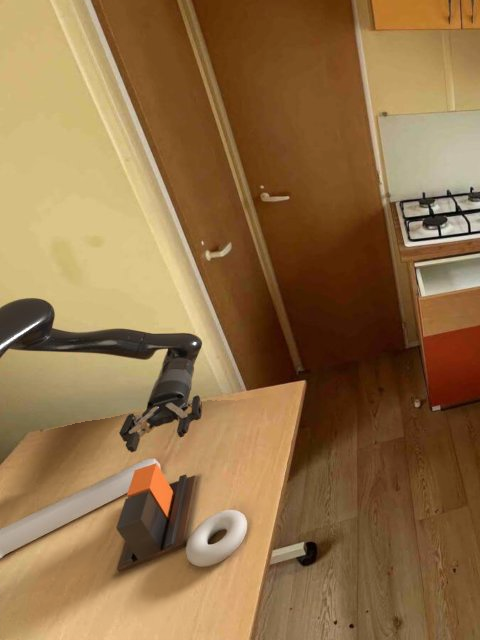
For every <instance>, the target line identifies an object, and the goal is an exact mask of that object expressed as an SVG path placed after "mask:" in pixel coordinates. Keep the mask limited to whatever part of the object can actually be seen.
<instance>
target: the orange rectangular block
mask: <svg viewBox="0 0 480 640" xmlns="http://www.w3.org/2000/svg"><path fill="white" fill-rule="evenodd" d="M160 468H161V467H160ZM160 468H159V466H158V465H157V463H155V464H152V465H149V466H146V467H143V468H140V469H137V470H135V472H134V475H133V478H132V481H131V484H130V487H129V490H128V493H126V497H127V498H129V497H132V496H135V495H138V494H141V493H144V492H147V491H149V492H150V494H151V495H152V497H153V499H154V500H155V502H156V504H157V505H158V507H159V508H160V510H161V512H162V513H163V515H164V517H165V518H166V520H169V517H170V512H171V508H172V503H173V499H174V493H173V491H172V489H171V487H170V486H169V484H170V483H169V482H168V480H167V479H166V476H165V475H164V473H163V471H162V469H161V470H160Z"/></svg>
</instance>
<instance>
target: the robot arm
mask: <svg viewBox="0 0 480 640" xmlns="http://www.w3.org/2000/svg"><path fill="white" fill-rule="evenodd" d="M55 318H56V313H55V309H54V306H53V304H51V303H50V302H49V301H47V300H45V299H42V298H37V297H25V298H20V299H15V300H13V301H10V302H8V303H6V304H4V305H1V306H0V359H1V358H2V357H3V356H4V355H5V353H6V352H7V351H9V350H13V351H25V352H47V353H48V352H50V353H74V354H75V353H79V354H98V355H106V356H107V355H108V356H113V357H121V358H127V359H135V360H140V361H147V360H150V359H151V358H152V357H154V355H155V353H156V352H157V351H160V350H167V351H166V353H165V355H164V358H163V361H162V364H161V369H160V370H159V374H158V376H157V379H156V380H155V382H154V384H153V387H152V389H151V392H150V395H149V398H148V401H147V405H146V409H145V410H144V412H142V413H141V414H138V415H135V414H134V413H130V414H128V415H127V416H126V418H125V420H124V421H123V424H122V426H121V428H120V430H119V432H118V434H119V437H120V438H121V439H122V441H123V442H125V447H126V449H127V451H128V452H130V453H135V452H137V450H138V446H139V444H140V441H141V438H142V437H143V436H144V435H146V434H149V433H150V432H152V431H153V430H154V429H155V428H158V427H161V426H163V425H167V424H171V423H173V422H174V421H176V422H178V423H177V424H178V425H177V429H176V433H177V435H178V437H179V438H183V437H185V435H186V434H187V433H188V432H189V429H190V424H191V423H192V422H194V421H200V419H201V418H202V413H203V411H202V410H203V402H202V399H201V397H200V395H195V396H193V397H192V400H189V398H190V395H191V391H192V385H193V382H192V381H193V378H194V377H193V376H194V372H195V363H196V361H197V358H198V356H199V354H200V350H201V349H202V346H203V341H202V339H201V338H200V337H199V336H198V335H196V334H193V333H188V332H173V333H172V332H171V333H168V332H167V333H153V332H146V331H142V330H141V331H140V330H135V329H130V328H121V327H120V328H119V327H117V328H106V329H99V330H98V329H97V330H89V331H68V330H62V329H58V328H54V327H53V326H54V322H55ZM189 407H190V408H191V409H190V410H191V411H190V412H189V413H187V412H186V411H187V410H188V409H189ZM148 424H149V425H148Z"/></svg>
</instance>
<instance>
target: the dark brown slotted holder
mask: <svg viewBox="0 0 480 640" xmlns="http://www.w3.org/2000/svg"><path fill="white" fill-rule="evenodd" d="M197 480H198V478H197V476H196V475H195V474H194V475H191V476H188V475H187V474H186V473H185V474H182V475H179V478H178V480H177V481H174V482H172V483H168V484H169V486H170V487H171V489H172V491H173V493H174V499H173V503H172V508H171V512H170V517H169V520H166V518H165V517H164V515H163V513H162V512H161V510H160V508H159V507H158V505H157V504H156V502H155V500H154V499H153V497H152V495H151V494H150V492H149V491H147V492H144V493H141V494H138V495H135V496H132V497H129V498H128V497H127V498H125V499H124V503H123V505H122V508H121V512H120V515H119V518H118V521H117V524H116V527H115V529H116V531H117V532H118V533H119V535H120V536H121V538H122V539H123V540H124V544H123V547H122V550H121V554H120V556H119V560H118V564H117V567H116V571H117V572H118V574H120V573H123V572H126V571H128V570H129V569H132V568H135V567H137V566H140V565H143V564H145V563H148V562H151V561H153V560H156V559H158V558H160V557H163V556H165V555H168V554H170V553H173V552H174V551H175V552H176V551H178V550H180V549H183V548H186V544H187V537H188V531H189V525H190V520H191V514H192V508H193V503H194V499H195V498H194V497H195V492H196V487H197Z"/></svg>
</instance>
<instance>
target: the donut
mask: <svg viewBox="0 0 480 640" xmlns="http://www.w3.org/2000/svg"><path fill="white" fill-rule="evenodd" d="M223 530H226V533H225V535H224V536H223V537H222V538H221V539H220V540H218V541H217V542H215V543H212V544H209V540H210V539H211V538H212V537H213V536H214V535H215V534H216V533H218V532H220V531H223ZM247 532H248V521H247V518H246V515H244V514H243V513H242V512H241V511H240V510H234V509H227V510H225V509H224V510H221V511H218V512H215V513H214V514H212V515H210V516H208V517H207V518H205V519H204V520H203V521H202V522H201V523H199V524H198V525H197V526H196V528H195V529H194V530H193V531H192V532H191V533H190V536H189V538H188V540H187V541H186V545H185V554H186V558H187V561H189V562H190V563H191V564H192V566H196V567H201V568H202V567H209V566H210V567H211V566H213V565H216V564H218V563H220V562H222V561H224V560H226V559H227V558H229V557H230V556H231V555H232V554H233V553H234V552H235V551H236V550H237V549H239V546H240V545H241V543H242V542H243V541H244V538H245V537H246V534H247Z"/></svg>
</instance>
